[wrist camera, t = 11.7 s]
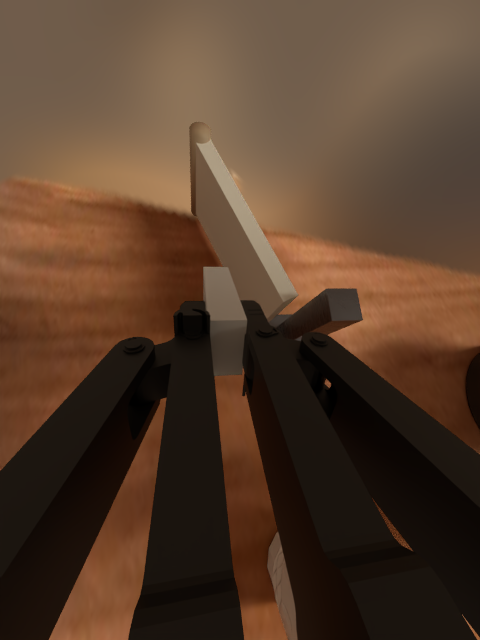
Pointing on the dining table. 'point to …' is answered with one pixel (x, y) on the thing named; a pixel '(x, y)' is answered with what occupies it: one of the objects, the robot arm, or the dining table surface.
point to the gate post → (321, 314)
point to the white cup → (282, 587)
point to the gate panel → (234, 228)
